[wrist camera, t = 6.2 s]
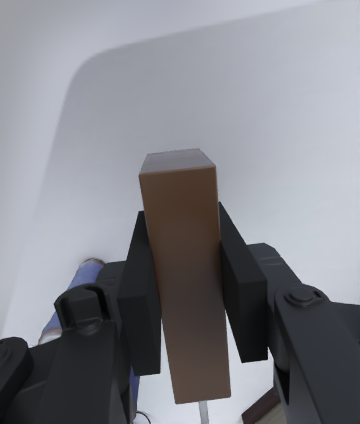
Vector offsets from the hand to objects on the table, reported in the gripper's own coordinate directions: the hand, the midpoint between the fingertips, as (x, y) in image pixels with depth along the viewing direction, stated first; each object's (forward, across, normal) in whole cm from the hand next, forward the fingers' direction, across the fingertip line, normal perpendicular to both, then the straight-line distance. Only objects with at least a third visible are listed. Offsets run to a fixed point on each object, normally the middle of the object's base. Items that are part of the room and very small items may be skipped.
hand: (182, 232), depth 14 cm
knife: (0, 0, -6) cm, 6 cm away
